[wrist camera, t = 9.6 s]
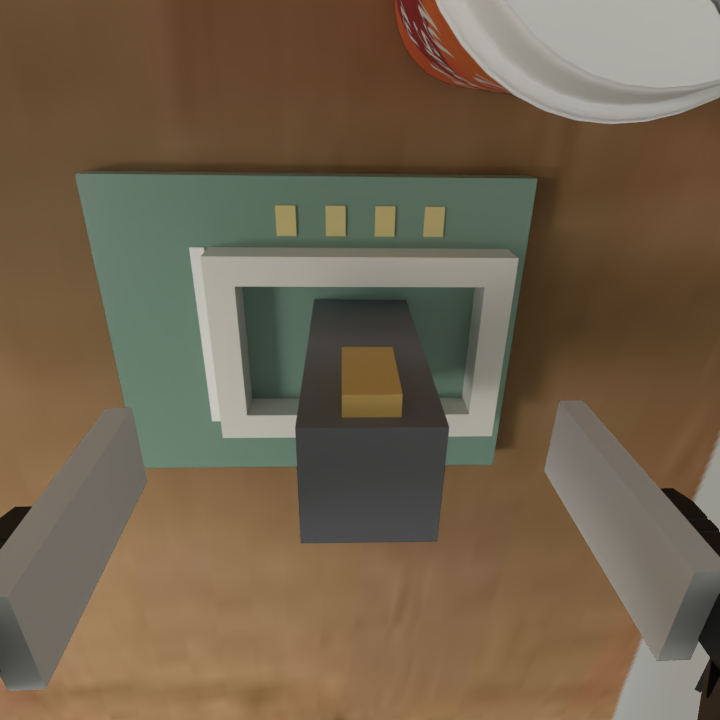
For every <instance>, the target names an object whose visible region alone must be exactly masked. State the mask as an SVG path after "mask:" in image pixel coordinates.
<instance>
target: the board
mask: <svg viewBox="0 0 720 720" xmlns="http://www.w3.org/2000/svg"><path fill="white" fill-rule="evenodd" d="M75 178H76V182H77V187H78V191H79V196H80V201H81V205H82V210H83V214H84V219H85V224H86V228H87V233H88V237H89V242H90V247H91V251H92V256H93V260H94V265H95V270H96V274H97V279H98V283H99V288H100V293H101V297H102V302H103V306H104V311H105V316H106V320H107V325H108V329H109V334H110V338H111V343H112V348H113V352H114V357H115V361H116V366H117V371H118V375H119V380H120V384H121V389H122V394H123V398H124V403H125V407H126V408H132V410H133V415H134V420H135V424H136V429H137V434H138V439H139V443H140V448H141V453H142V457H143V462H144V467H145V468H174V467H293V466H297V455H296V435H295V426H296V419H297V412H298V406H299V399H300V392H301V385H302V378H303V372H304V365H305V358H306V351H307V345H308V338H309V331H310V324H311V317H312V311H313V304H314V299H341V300H406V301H407V304H408V307H409V310H410V313H411V316H412V318H413V321H414V324H415V327H416V330H417V333H418V336H419V339H420V342H421V345H422V348H423V351H424V354H425V357H426V360H427V363H428V366H429V369H430V372H431V375H432V378H433V381H434V384H435V387H436V389H437V392H438V395H439V398H440V401H441V404H442V407H443V410H444V413H445V416H446V419H447V422H448V425H449V435H448V444H447V453H446V463H445V465H493V459H494V453H495V446H496V440H497V434H498V427H499V421H500V415H501V408H502V402H503V396H504V389H505V383H506V376H507V370H508V364H509V357H510V351H511V345H512V338H513V332H514V326H515V319H516V313H517V307H518V300H519V294H520V287H521V281H522V275H523V268H524V262H525V256H526V249H527V243H528V237H529V230H530V224H531V218H532V211H533V205H534V198H535V192H536V186H537V178H534V177H531V176H528V175H458V174H368V173H279V172H189V171H99V170H88V171H84V172H80V173H75Z"/></svg>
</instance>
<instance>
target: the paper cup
mask: <svg viewBox="0 0 720 720" xmlns="http://www.w3.org/2000/svg"><path fill="white" fill-rule="evenodd" d="M395 13H396V20H397V25H398V28H399V32H400V35H401V38H402V40H403V42H404V45H405V47H406V48H407V50H408V52H409V54H410V55H411V56H412V58H413V59H414V60H415V62H416V63H417V64H418V65H419V66H420V67H421V68H422V69H423V70H424V71H426V72H427V73H428V74H430V75H431V76H433V77H434V78H436V79H438V80H440V81H443V82H445V83H448V84H451V85H455V86H460V87H465V88H472V89H478V90H486V91H494V92H502V93H511V94H513V95H514V96H516V97H518V98H520V99H522V100H524V101H526V102H528V103H530V104H532V105H534V106H535V107H537V108H539V109H541V110H543V111H546V112H549V113H553V114H556V115H559V116H563V117H566V118H569V119H573V120H576V121H585V122H595V123H604V124H620V123H634V122H646V121H650V120H655V119H659V118H663V117H667V116H671V115H676V114H680V113H683V112H685V111H688V110H690V109H693V108H695V107H698V106H700V105H703V104H705V103H708V102H710V101H712V100H715V99H717V98H719V97H720V0H395Z"/></svg>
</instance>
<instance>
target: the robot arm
mask: <svg viewBox="0 0 720 720" xmlns="http://www.w3.org/2000/svg"><path fill="white" fill-rule="evenodd" d="M544 472H545V473H546V475H547V477H548V478H549V480H550V482H551V484H552V485H553V487H554V489H555V490H556V492H557V494H558V495H559V497H560V499H561V500H562V502H563V504H564V505H565V507H566V509H567V510H568V512H569V514H570V516H571V517H572V519H573V521H574V522H575V524H576V526H577V527H578V529H579V531H580V532H581V534H582V536H583V537H584V539H585V541H586V542H587V544H588V546H589V547H590V549H591V551H592V553H593V554H594V556H595V558H596V559H597V561H598V563H599V564H600V566H601V568H602V569H603V571H604V573H605V574H606V576H607V578H608V579H609V581H610V583H611V585H612V586H613V588H614V590H615V591H616V593H617V595H618V596H619V598H620V600H621V601H622V603H623V605H624V606H625V608H626V610H627V611H628V613H629V615H630V616H631V618H632V620H633V622H634V623H635V625H636V627H637V628H638V630H639V632H640V633H641V635H642V637H643V638H644V640H645V642H646V643H647V645H648V647H649V648H650V650H651V652H652V654H653V655H654V657H655V659H656V660H657V661H667V660H668V661H669V660H689V659H691V657H692V655H693V652H694V650H695V648H696V646H697V644H698V642H700V643H701V645H702V646H703V648H704V649H705V651H706V652H707V654H708V655H709V656H710V660H709V662H708V664H707V666H706V668H705V670H704V672H703V674H702V676H701V678H700V680H699V682H698V684H697V686H696V688H695V690H697V691H699V692H701V691H702V694H701V700H700V707H699V713H698V720H720V532H719V529H718V528H717V527H716V526H715V525H714V524H713V523H712V521H710V520H708V519H707V516H706V515H705V514H704V513H703V512H702V511H701V510H700V509H699V507H698V506H697V505H696V504H695V503H694V502H693V501H691V500H690V499H688V498H687V497H685V496H684V495H682V494H681V493H679V492H678V491H676V490H675V489H673V488H664V489H660V488H659V487H658V486H657V485H656V484H655V482H654V481H653V480H652V479H651V478H650V477H649V475H648V474H647V473H646V472H645V471H644V470H643V469H642V467H641V466H640V465H639V464H638V463H637V462H636V461H635V459H634V458H633V457H632V456H631V455H630V454H629V453H628V451H627V450H626V449H625V448H624V447H623V446H622V445H621V443H620V442H619V441H618V440H617V439H616V438H615V436H614V435H613V434H612V433H611V432H610V431H609V430H608V428H607V427H606V426H605V425H604V424H603V423H602V422H601V420H600V419H599V418H598V417H597V416H596V415H595V414H594V412H593V411H592V410H591V409H590V408H589V407H588V406H587V404H586V403H585V402H584V401H583V400H571V401H559V404H558V409H557V413H556V418H555V423H554V427H553V432H552V437H551V441H550V446H549V451H548V455H547V460H546V465H545V469H544ZM146 483H147V476H146V472H145V467H144V462H143V457H142V453H141V448H140V443H139V439H138V434H137V429H136V424H135V420H134V415H133V410H132V408H105V410H104V411H103V412H102V414H101V415H100V416H99V418H98V419H97V421H96V422H95V423H94V425H93V426H92V427H91V429H90V430H89V431H88V433H87V434H86V435H85V437H84V438H83V439H82V441H81V442H80V443H79V445H78V446H77V447H76V449H75V450H74V451H73V453H72V454H71V455H70V457H69V458H68V459H67V461H66V462H65V463H64V465H63V466H62V468H61V469H60V470H59V472H58V473H57V474H56V476H55V477H54V478H53V480H52V481H51V482H50V484H49V485H48V486H47V488H46V489H45V490H44V492H43V493H42V494H41V496H40V497H39V498H38V500H37V501H36V502H35V504H34V505H33V506H30V507H14V508H13V509H12V510H10V511H9V512H8V513H6V514H5V515H3V516H2V517H1V518H0V675H1V677H2V680H3V682H4V684H5V686H6V688H7V690H8V691H10V690H32V689H46V688H47V686H48V684H49V682H50V679H51V677H52V675H53V673H54V671H55V669H56V667H57V665H58V663H59V661H60V659H61V657H62V655H63V653H64V651H65V649H66V647H67V645H68V643H69V641H70V638H71V636H72V634H73V632H74V630H75V628H76V626H77V624H78V622H79V620H80V618H81V616H82V614H83V612H84V610H85V608H86V606H87V604H88V602H89V599H90V597H91V595H92V593H93V591H94V589H95V587H96V585H97V583H98V581H99V579H100V577H101V575H102V573H103V571H104V569H105V567H106V565H107V563H108V561H109V558H110V556H111V554H112V552H113V550H114V548H115V546H116V544H117V542H118V540H119V538H120V536H121V534H122V532H123V530H124V528H125V526H126V524H127V522H128V519H129V517H130V515H131V513H132V511H133V509H134V507H135V505H136V503H137V501H138V499H139V497H140V495H141V493H142V491H143V489H144V487H145V485H146Z"/></svg>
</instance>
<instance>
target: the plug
mask: <svg viewBox="0 0 720 720" xmlns="http://www.w3.org/2000/svg"><path fill="white" fill-rule="evenodd" d="M295 435H296V455H297V476H298V496H299V516H300V536H301V543H363V542H437V537H438V528H439V519H440V509H441V500H442V491H443V481H444V472H445V463H446V453H447V444H448V435H449V425H448V422H447V419H446V416H445V413H444V410H443V407H442V404H441V401H440V398H439V395H438V392H437V389H436V387H435V384H434V381H433V378H432V375H431V372H430V369H429V366H428V363H427V360H426V357H425V354H424V351H423V348H422V345H421V342H420V339H419V336H418V333H417V330H416V327H415V324H414V321H413V318H412V316H411V313H410V310H409V307H408V304H407V301H406V300H341V299H314V304H313V311H312V317H311V324H310V331H309V338H308V345H307V351H306V358H305V365H304V372H303V378H302V385H301V392H300V399H299V406H298V412H297V419H296V426H295Z"/></svg>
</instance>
